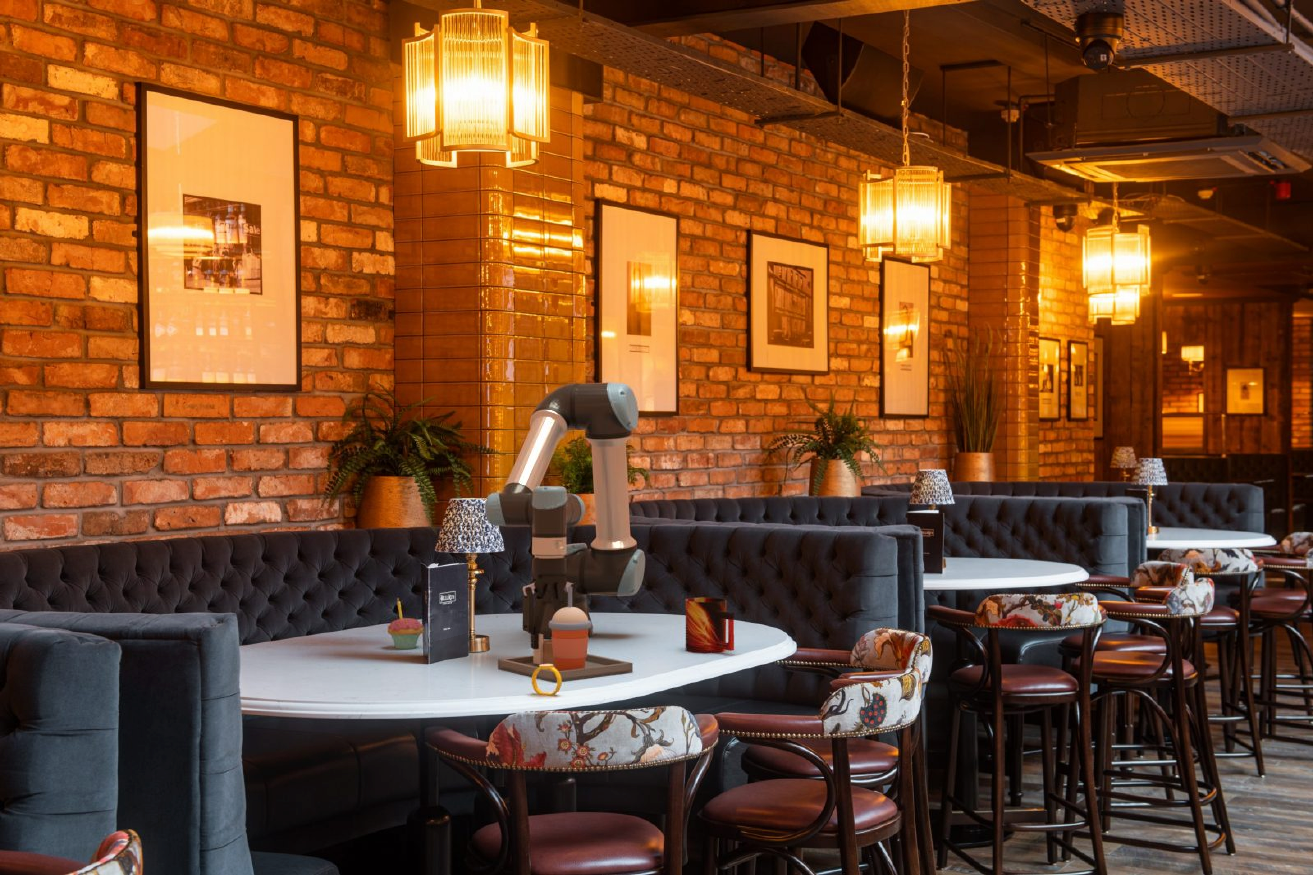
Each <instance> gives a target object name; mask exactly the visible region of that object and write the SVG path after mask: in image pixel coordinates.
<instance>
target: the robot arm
mask: <svg viewBox="0 0 1313 875" xmlns="http://www.w3.org/2000/svg"><path fill="white" fill-rule="evenodd" d="M638 424H639V407H638V401H637V398H636V395H635V392H634V391H633V389H632V388H631V387H630V385H628V384H626V383H619V382H587V383H586V382H585V383H577V382H576V383H575V382H574V383H573V382H572V383H567V384H564V385H561V386H559V387H558V388H556V389H554V390H553V391H551V392H550V393H548V394H547V395H546V396H545V397H544V398H543V399H542V400H541V401H540V402H539V403H538V404H537V406H535V408H534V410H533V412H532V413H531V417H530V419H529V427H530V429H529V431H528V433H527V435H526V438H525V440H524V443H523V445H522V447H521V450H520V452H519V454H518V456H517V458H516V460H515V463H514V465H513V467H512V469H511V472H510V473H509V476H508V478H507V481H506V483H505V485H504V487H503V489H502V491H501V492H499V491H498V492H493V493H490V494H489V495H488V496H487V498H486V500H485V504H484V511H485V512H484V514H485V517H486V520H487V522H488V523H489V524H490V525H493V526H499V527H500V526H501V527H532V537H531V539H532V541H531V542H532V545H531V554H532V555H533V556H534V557H533V558H532V559H531V562H532V563H531V565H532V566H531V573H532V575H533V576H532V580H531V583H529V584H528V585H522V586H521V587H520V592H521V594H522V631H523V632H527V633H529V634H530V648H531V649H533V650H532V651H533V652H532V654H533V655H532V656H533V663H535V664H539V665H541V664H543V640H544V639H552V629H551V628H549V622H550V621H551V620H552V618H553V616H554V614H555V613H556V612H557V611H558V610H560V609H562V608H565V607H568V587H572V607H576V608H579V609H580V610H582V611H583V612H584V613H585V614H586V616H587V618H588V620H589V621H591V628H589V629H588V637H591V636H593V635H594V626H593V622H592V619H591V615H590V613H589V609H588V607H587V596H588V595H589V596H591V595H592V596H617V597H624V596H629V597H630V596H634V595H636V594H637V593H638V591H639V590H640V588H641V586H642V582H643V580H644V577H645V576H644V574H645V569H646V556H645V552H644V551H643V550H642V549H640V548H639V549H638V545H637V540H636V539H634V538H633V537H632V536H631V526H630V524H631V523H630V506H629V505H630V503H629V502H630V501H629V484H628V480H629V479H628V464H627V462H628V461H627V459H628V458H627V443H628V442H627V441H629V440H630V438H631V437H632V431H633V430H635V429H637V427H638V426H639V425H638ZM574 430H577V431H584V439H585V440H586V441H587V442H588V443H590V445H591V456H592V457H591V461H592V476H593V477H592V478H593V493H594V494H593V496H594V499H593V500H594V517H595V534H596V537H595V538H594V539H593V541H592V542H591V543H590V548H588V546H587V544H586V543H585V542H581V543H579V542H578V543H570V544H567V528H571V527H574V526H575V525H577V524H580V522H581V521H582V520H583V519H584V517H585V514H586V504H585V503H584V501H583V499H582V498H581V497H580V496H579V495H578V494H574V493H571V492H569V493H567V488H566V487H564V486H559V485H558V486H557V485H556V486H554V485H553V486H552V485H551V486H550V485H547V486H546V485H544V486H543V485H542V486H541V484H542V481H543V479H544V477H545V475H546V472H547V470H548V467H549V464H550V462H551V460H552V458H553V455H554V453H555V450H556V448H557V446H558V443H559V442H560V440H562V439H563V438H565V436H566V435H567V433H568V432H569V431H574ZM534 594H535V598H534ZM534 602H535V603H534Z"/></svg>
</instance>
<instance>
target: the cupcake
mask: <svg viewBox="0 0 1313 875" xmlns="http://www.w3.org/2000/svg"><path fill="white" fill-rule="evenodd" d="M399 599H400V598H398V597H397V608H398V609H397V610H398V616H399V619H394V620H393V621H392V622H390V624H389V625H388V626H387V633H388V634H389V635H390V636H391V639H392V640H393V644H394V647H395V649H398V650H410V649H415V648H416V646H417V643H418V639H419V638H420V636H421V634H424V631H423V629H424V626H423V627H422V625H423V624H422V623H421V622H420V621H419V620H417V619H416V618H413V617H412V618H409V617H403V614H402V613H403V612H402V605H401V601H400V600H399Z"/></svg>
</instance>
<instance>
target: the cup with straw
mask: <svg viewBox="0 0 1313 875" xmlns="http://www.w3.org/2000/svg"><path fill="white" fill-rule="evenodd" d="M591 622H592V620H591V621H589V620H588V618H587V616H586V614H585V613H584V612H583V611H582V610H580V609H579V608H576V607H572V587H568V607H565V608H562V609H560V610H558V611H557V612H556V613H555V614H554V616H553V618H552V620H551V621H550V622H549V628H551V629H552V638H551V639H552V649H553V657H554V661H555V668H556V669H557V670H558V671H565V670H573V669H581V668H585V659H586V657H587V654H588V645H589V636H588V629H589V628H591Z"/></svg>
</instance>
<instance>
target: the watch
mask: <svg viewBox="0 0 1313 875" xmlns="http://www.w3.org/2000/svg"><path fill="white" fill-rule="evenodd" d="M541 669H550V670H551V671H552V672H554V674H555V676H556V678H557V682H556V688H555V689H554V691H553V692H544V691H542V690H541V689H540V687H539V686H538V683H537V678H536V676H537V674H538V672H539V670H541ZM531 685H532V686H531V687H532V688H533V691H535V693H536V694H537V695H538V696H555V695H556V694H557V693H559V691H560V690H561V687H562V680H561V675H560V673H559V671H558V670H557V669H556V668H554V667H553V664H541V665H539V668H537V669H536V670H535V671H534V673H533V675H532V677H531Z"/></svg>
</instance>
